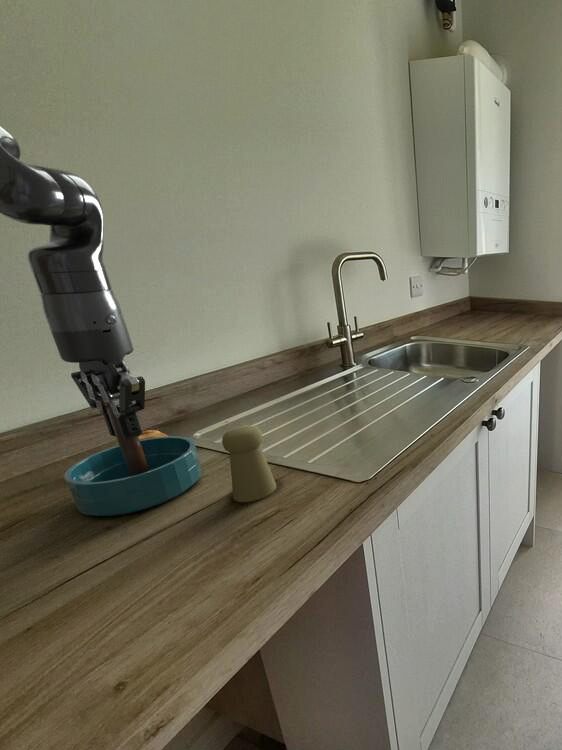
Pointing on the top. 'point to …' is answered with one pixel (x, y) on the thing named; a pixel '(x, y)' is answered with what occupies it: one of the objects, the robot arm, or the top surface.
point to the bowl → (133, 477)
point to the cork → (248, 464)
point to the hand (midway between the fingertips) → (126, 435)
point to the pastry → (151, 434)
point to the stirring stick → (129, 449)
